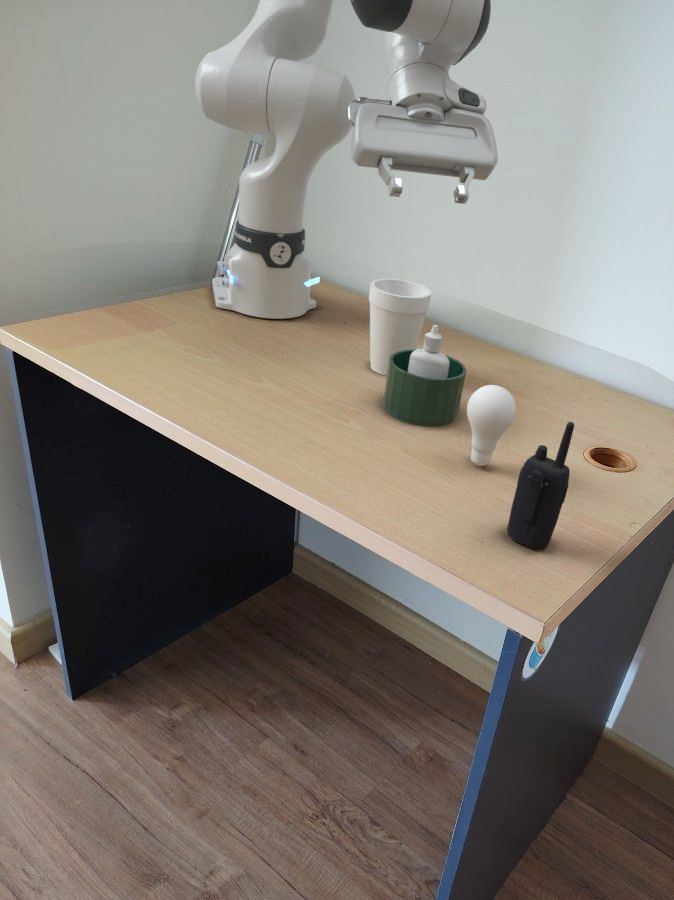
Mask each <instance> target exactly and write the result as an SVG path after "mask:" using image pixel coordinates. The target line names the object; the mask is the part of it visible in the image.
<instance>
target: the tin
mask: <svg viewBox="0 0 674 900" xmlns="http://www.w3.org/2000/svg"><path fill="white" fill-rule="evenodd" d="M413 351H415V350H403V351H398V352H395V353H394V354H392V355H391V356H390V358H389V363H388V370H387V375H386V377H385V385H384V392H383V393H384V394H383V400H382V401H383V403H382V405H383V406H382V407H383V409H384V410H385V412H387V414H389V415H390V416H391V417H393V418H395V419H397V420H399V421H401V422H405V423H407V424H412V425H415V426H423V427H440V426H441V427H442V426H446V425H450V424H452V423H454V422H455V421H456V420H457V418H458V415H459V412H460V406H461V401H462V396H463V392H464V385H465V381H466V376H467V371H468V369H467V367H466V366H465V364H464V363H462V362H461V361H460V360H459V359H456V358H454V357H452V356H450V355H448V354H444V355H445V356H446V357H447V358H448V359H449V370H448V376H447V378H444V379H437V378H427V377H422V376H417V375H414V374H411V373H408V366H409V360H410V356H411V354H412V352H413Z"/></svg>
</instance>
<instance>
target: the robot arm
mask: <svg viewBox="0 0 674 900" xmlns="http://www.w3.org/2000/svg"><path fill="white" fill-rule="evenodd" d="M349 1H350V4H351V7H352V10H353V11H354V13H355V15H356V17H357V18H358V20H359V21H360V23H361V24H362V26H364V27H365V28H369V29H373V30H378V31H382V32H383V57H384V58H383V59H384V66H385V69H386V72H387V74H388V78H387V83H386V91H387V92H386V93H387V99H382V98H381V99H379V98H369V97H365V96H358V98H357V97H356V93H355V90H354V87H353V85H352V83H351V82H350V80H349V78H348V77H347V76H346V75H344V74H342V73H340V72H337V71H335V70H333V69H331V68H327V67H325V66H322V65H320V64H315V63H309V62H304V60H306V59H309V58H311V57H312V56H314V55H315V54H316V53H318V51H319V50H320V49H321V47H322V46H323V44H324V42H325V41H326V38H327V32H328V29H329V23H330V19H331V15H332V10H333V6H334V2H335V0H259V2H258V5H257V8H256V10H255V12H254V14H253V17H252V18H251V20H250V21H249V22H248V24H247V25H246V26H245V28H244V29H243V30H242V31H241V32H240V33H239V34H238V35H237V36H236V37H235V38H234V39H232V40H231V41H229V42H228V43H227V44H225V45H223V46H222V47H219V48H217V49H215V50H212V51H210V52H208V53H207V54H206V55H204V56H203V58H202V59H201V61H200V63H199V64H198V67H197V70H196V73H195V77H194V90H195V91H194V92H195V97H196V100H197V103H198V106H199V108H200V109H201V111H202V113H203V114H204V116H205V117H206V118H207V119H209V120H210V121H213V122H215V123H217V124H218V125H219V124H220V125H222V126H225V127H227V128H230V129H232V130H236V131H241V132H247V133H253V134H257V135H264V136H269V137H272V138H275V140H276V141H275V149H274V151H273V153H272V154H271V155H267V156H265V157H263V158H260V159H257V160H255V161H253V162H251V163H249V164H247V165H246V167H245V168H244V169H243V170H242V172H241V174H240V175H239V179H238V180H239V181H238V220H237V221H236V222H235V227H234V232H233V234H234V236H233V241H234V244H233V245H232V246H231V248H230V249H229V250H228V252H227V253H225V254H224V261H223V260H217V261H216V274H217V275H220V276H216V277H213V278H212V280H211V287H212V292H213V297H214V303H215V307H217V308H219V309H223V310H224V309H225V310H228V311H233V312H237V313H240V314H243V315H247V316H250V317H256V318H261V319H273V320H276V319H277V320H279V319H280V320H281V319H282V320H285V319H294V318H299V317H301V316H304V315H305V314H306V313H307V312H308V311H310V310H312V309H315V308H317V300H315V299H313V298H312V297H311V286H313V285H315V284H318V283H320V279H321V278H320V276H317V277H315V278H311V262H310V261H309V260H308V258H307V257H306V256H305V255H304V252H305V247H306V245H305V244H306V229H305V228H304V220H305V219H304V218H305V208H306V200H307V194H308V187H309V183H310V180H311V177H312V175H313V172H314V170H315V168H316V166H317V165H318V163H319V161H320V160H321V159H322V158H323V156H325V154H326V153H327V152H328V151H330V150H331V149H332V148H333V147H335V146H336V145H339V144H340V143H341V142H343V141H344V140H345V139H346V138H347V136H348V135H349V134H350V133H351V142H350V157H351V159H352V161H353V162H354V164H356V165H357V166H358V167H363V168H364V167H365V168H372V169H373V168H374V169H377V172H378V175H379V177H380V178H381V179H382V181H383V182H384V184H385V185H386V186H387V194H388V197H396V198H400V197H401V194H402V193H403V185H402V184H403V180H402V179H403V178H400V177H396V175H395V174H394V172H393V171H398V172H399V171H400V172H408V173H416V174H425V175H435V176H443V177H451V178H459V183H460V184H457V185H456V188H455V189H454V191H453V198H454V203H455V204H462V205H465V204H467V202H468V200H469V197H470V195H469V186H470V185H471V183H472V180H477V181H486V180H487V179H488V178H489V177H490V176H491V174H493V172H494V170H495V169H496V166H497V164H498V158H499V157H498V149H497V148H498V147H497V141H496V138H495V137H496V136H495V133H494V129H493V126H492V123H491V121H490V120H489V118H488V117H487V116H486V115H485V113H486V111H487V106H488V105H487V100H486V98H485V97H484V96H483V95H481V94H479V93H477V92H475V91H472V90H470V89H468V88H466V87H464V86H463V85H461V84H460V83H457V82H456V81H454V80H453V79H451V78H450V73H449V72H450V69H451V67H452V66H456V65H457V64H459V63H460V62H461V61H463V60H464V59H465V58H466V57H467V56H468V55H469V54H470V53H471V52H472V51H473V50H475V49H476V47H477V46H478V45H479V44H480V43H481V41H482V40H483V38H484V37H485V35H486V32H487V30H488V28H489V25H490V20H491V8H492V4H491V0H349ZM351 131H352V132H351Z"/></svg>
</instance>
